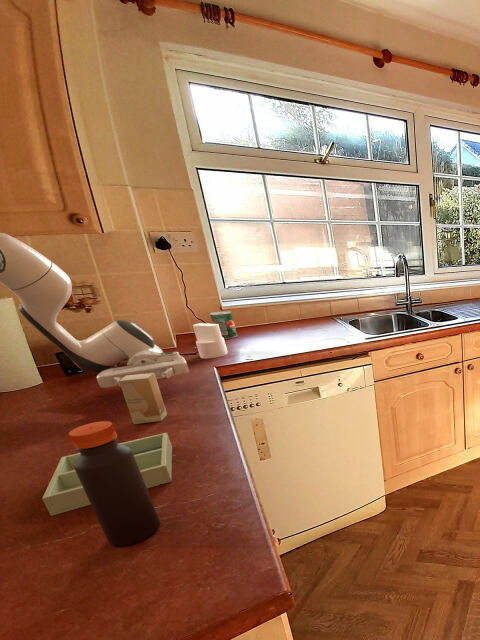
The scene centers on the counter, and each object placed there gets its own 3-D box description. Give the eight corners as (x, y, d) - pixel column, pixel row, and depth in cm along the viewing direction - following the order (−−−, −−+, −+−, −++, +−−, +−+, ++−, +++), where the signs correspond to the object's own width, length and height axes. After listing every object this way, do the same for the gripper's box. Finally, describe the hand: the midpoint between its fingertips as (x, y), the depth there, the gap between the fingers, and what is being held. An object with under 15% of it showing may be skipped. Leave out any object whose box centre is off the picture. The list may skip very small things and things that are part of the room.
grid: (50, 516, 76) (41, 498, 74) (69, 472, 89) (61, 456, 87) (171, 481, 85) (165, 465, 84) (172, 446, 98) (166, 432, 97)
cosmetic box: (133, 425, 109) (116, 381, 104) (140, 418, 112) (124, 375, 108) (163, 420, 111) (148, 377, 106) (169, 414, 115) (154, 372, 110)
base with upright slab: (233, 351, 167) (225, 322, 163) (214, 359, 159) (205, 328, 155) (213, 350, 169) (205, 321, 164) (194, 357, 161) (184, 327, 156)
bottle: (142, 546, 68) (95, 438, 61) (97, 549, 68) (45, 440, 60) (170, 518, 75) (131, 417, 67) (129, 521, 74) (85, 419, 67)
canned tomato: (215, 337, 189) (208, 312, 185) (235, 333, 194) (229, 310, 189) (218, 340, 183) (211, 315, 179) (239, 337, 188) (233, 312, 184)
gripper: (96, 364, 120) (88, 377, 110) (184, 350, 132) (185, 361, 121) (104, 384, 123) (98, 399, 112) (190, 369, 134) (191, 382, 124)
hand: (144, 379), depth 117 cm, fingers open, 8 cm apart
